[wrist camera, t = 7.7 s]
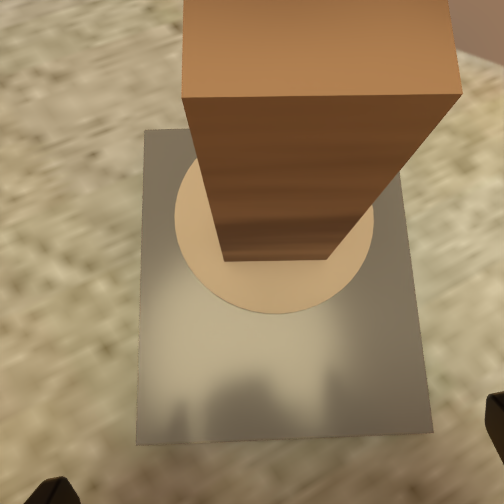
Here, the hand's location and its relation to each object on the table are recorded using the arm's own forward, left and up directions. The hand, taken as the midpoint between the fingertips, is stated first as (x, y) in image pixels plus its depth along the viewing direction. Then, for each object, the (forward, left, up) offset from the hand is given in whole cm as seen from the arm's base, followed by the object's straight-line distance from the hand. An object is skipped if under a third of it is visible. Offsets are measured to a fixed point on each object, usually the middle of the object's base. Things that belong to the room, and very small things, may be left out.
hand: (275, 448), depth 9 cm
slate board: (+5, -2, -10) cm, 12 cm away
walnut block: (+8, -2, -8) cm, 12 cm away
